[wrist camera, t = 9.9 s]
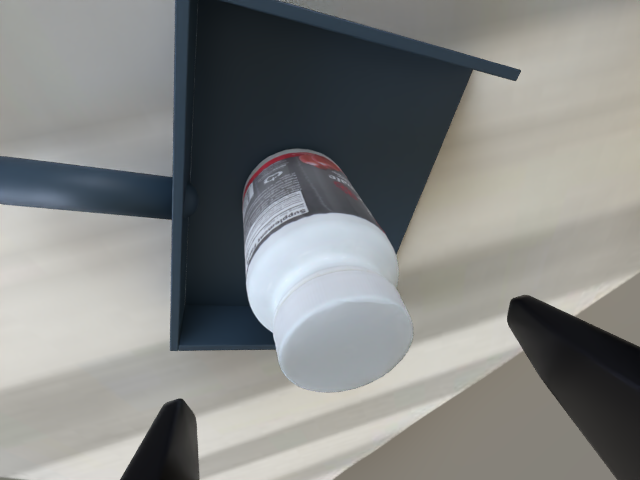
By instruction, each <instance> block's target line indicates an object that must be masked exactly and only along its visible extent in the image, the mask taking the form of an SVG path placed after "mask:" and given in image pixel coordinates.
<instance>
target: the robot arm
mask: <svg viewBox="0 0 640 480" xmlns="http://www.w3.org/2000/svg"><path fill="white" fill-rule="evenodd" d="M507 322H508V325H509V327H510V329H511V330H512V332H513V334H514V335H515V337H516V339H517V340H518V342H519V344H520V345H521V347H522V348H523V350H524V352H525V353H526V355H527V357H528V358H529V360H530V362H531V363H532V365H533V367H534V368H535V370H536V371H537V373H538V374H539V376H540V377H541V379H542V380H543V382H544V383H545V384H546V385H547V387H548V389H549V390H550V391H551V392H552V394H553V395H554V396H555V397H556V399H557V400H558V402H559V403H560V404H561V406H562V407H563V408H564V410H565V411H566V412H567V414H568V415H569V416H570V418H571V419H572V420H573V422H574V423H575V424H576V426H577V427H578V428H579V430H580V431H581V432H582V434H583V435H584V436H585V437H586V439H587V440H588V442H589V443H590V444H591V446H592V447H593V448H594V450H595V451H596V452H597V453H598V455H599V456H600V458H601V459H602V460H603V461H604V463H605V464H606V465H607V467H608V468H609V469H610V471H611V472H612V473H613V475H614V476H615V477H616V479H617V480H640V347H639V346H637V345H634V344H632V343H630V342H628V341H626V340H624V339H621V338H619V337H617V336H615V335H613V334H611V333H609V332H607V331H604V330H602V329H600V328H598V327H596V326H593V325H592V324H589V323H587V322H585V321H583V320H581V319H579V318H576V317H574V316H572V315H570V314H568V313H566V312H564V311H561V310H559V309H557V308H555V307H553V306H551V305H549V304H546V303H544V302H542V301H540V300H538V299H536V298H534V297H531V296H529V295H522V296H519V297H516V298H513V299H512V300H511V301H510V305H509V310H508V315H507ZM120 480H199V460H198V441H197V423H196V417H195V415H194V413H193V412H192V410H191V409H190V408H189V406H188V405H187V404H186V403H185V401H184V400H183V399H176V400H173V401H169V402H167V403H165V404H164V405H163V407H162V408H161V410H160V412H159V413H158V415H157V417H156V419H155V420H154V422H153V424H152V425H151V427H150V429H149V431H148V432H147V434H146V436H145V438H144V439H143V441H142V443H141V445H140V446H139V448H138V450H137V451H136V453H135V455H134V457H133V458H132V460H131V462H130V464H129V465H128V467H127V469H126V471H125V472H124V474H123V476H122V477H121V479H120Z"/></svg>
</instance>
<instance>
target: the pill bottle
mask: <svg viewBox="0 0 640 480" xmlns="http://www.w3.org/2000/svg"><path fill="white" fill-rule="evenodd" d="M242 202H243V205H242V212H243V228H244V250H245V267H246V288H247V294H248V300H249V303H250V306H251V309H252V311H253V313H254V314H255V316H256V317H257V319H258V320H259V321H260V322H261V324H262V325H263V326H264V327H266V328H267V329H268V330H269V331H271V332H272V333H273V338H274V341H275V345H276V351H277V356H278V361H279V365H280V368H281V370H282V372H283V373H284V375H285V376H286V377H287V378H288V379H289V380H290V381H291V382H292V383H294V384H295V385H297V386H299V387H301V388H304V389H307V390H311V391H316V392H341V391H346V390H351V389H355V388H358V387H361V386H364V385H366V384H369V383H371V382H373V381H375V380H377V379H378V378H380V377H382V376H384V375H385V374H386V373H388V372H389V371H391V370H392V369H393V368H394V367H395V366H396V365H397V364H398V363H399V362H400V361H401V360H402V359H403V357H404V356H405V354H406V353H407V351H408V349H409V348H410V345H411V343H412V339H413V323H412V320H411V317H410V315H409V313H408V311H407V309H406V307H405V305H404V303H403V301H402V299H401V296H400V294H399V292H398V291H397V289H396V287H397V283H398V277H399V267H398V261H397V257H396V254H395V251H394V249H393V247H392V245H391V243H390V241H389V240H388V238H387V236H386V234H385V233H384V231H383V230H382V229H381V228H380V226H379V225H378V223H377V222H376V220H375V219H374V217H373V216H372V215H371V213H370V211H369V210H368V209H367V207H366V206H365V204H364V203H363V201H362V200H361V198H360V197H359V195H358V194H357V192H356V191H355V189H354V188H353V186H352V185H351V183H350V182H349V180H348V179H347V177H346V176H345V174H344V173H343V172H342V170H341V169H340V168H339V167H338V165H337V164H336V163H335V162H334V161H332V160H331V159H330V158H328V157H327V156H325V155H323V154H321V153H319V152H316V151H312V150H308V149H288V150H284V151H281V152H278V153H276V154H274V155H271V156H269V157H267V158H266V159H264V160H263V161H262V162H260V163H259V164H258V166H257V167H256V168H255V169H254V170H253V171H252V173H251V174H250V176H249V177H248V179H247V181H246V184H245V187H244V191H243V199H242Z"/></svg>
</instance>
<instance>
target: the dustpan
mask: <svg viewBox="0 0 640 480" xmlns="http://www.w3.org/2000/svg"><path fill="white" fill-rule="evenodd" d="M197 8H198V13H197ZM196 31H197V36H196ZM195 54H196V59H195ZM473 70H476V71H480V72H484V73H487V74H491V75H495V76H499V77H502V78H506V79H510V80H513V81H516V80H517V78H518V76H519V74H520V72H521V70H519V69H515V68H512V67H508V66H505V65H501V64H498V63H494V62H491V61H487V60H484V59H480V58H477V57H473V56H470V55H466V54H463V53H459V52H456V51H453V50H449V49H446V48H442V47H439V46H435V45H432V44H428V43H425V42H421V41H418V40H414V39H411V38H407V37H404V36H400V35H397V34H393V33H390V32H386V31H383V30H379V29H376V28H372V27H369V26H365V25H362V24H358V23H355V22H351V21H348V20H344V19H341V18H337V17H334V16H330V15H327V14H323V13H320V12H316V11H313V10H309V9H306V8H302V7H299V6H296V5H292V4H289V3H285V2H282V1H278V0H175V55H174V120H173V177H167V176H159V175H151V174H143V173H135V172H127V171H119V170H111V169H103V168H95V167H87V166H78V165H70V164H62V163H54V162H46V161H38V160H30V159H22V158H14V157H6V156H0V204H4V205H15V206H26V207H37V208H48V209H59V210H71V211H82V212H93V213H104V214H115V215H126V216H137V217H148V218H159V219H170V220H172V249H171V314H170V351H178V350H179V351H196V350H276V345H275V341H274V338H273V333H272V332H271V331H269V330H268V329H267V328H266V327H264V326H263V325H262V324H261V322H260V321H259V320H258V319H257V317H256V316H255V314H254V313H253V311H252V309H251V306H250V303H249V300H248V294H247V288H246V267H245V250H244V228H243V212H242V205H243V202H242V199H243V191H244V187H245V184H246V181H247V179H248V177H249V176H250V174H251V173H252V171H253V170H254V169H255V168H256V167H257V166H258V164H259V163H260V162H262V161H263V160H264V159H266V158H267V157H269V156H271V155H274V154H276V153H278V152H281V151H284V150H288V149H308V150H312V151H316V152H319V153H321V154H323V155H325V156H327V157H328V158H330V159H331V160H332V161H334V162H335V163H336V164H337V165H338V167H339V168H340V169H341V170H342V172H343V173H344V174H345V176H346V177H347V179H348V180H349V182H350V183H351V185H352V186H353V188H354V189H355V191H356V192H357V194H358V195H359V197H360V198H361V200H362V201H363V203H364V204H365V206H366V207H367V209H368V210H369V211H370V213H371V215H372V216H373V217H374V219H375V220H376V222H377V223H378V225H379V226H380V228H381V229H382V230H383V231H384V233H385V234H386V236H387V238H388V240H389V241H390V243H391V245H392V247H393V249H394V251H395V254H397V252H398V249H399V247H400V244H401V242H402V240H403V237H404V235H405V232H406V230H407V227H408V225H409V223H410V220H411V218H412V215H413V213H414V211H415V208H416V206H417V203H418V201H419V199H420V196H421V194H422V191H423V189H424V186H425V184H426V182H427V179H428V177H429V174H430V172H431V170H432V167H433V165H434V162H435V160H436V158H437V155H438V153H439V150H440V148H441V146H442V143H443V141H444V138H445V136H446V133H447V131H448V129H449V126H450V124H451V121H452V119H453V117H454V114H455V112H456V109H457V107H458V105H459V102H460V100H461V97H462V95H463V93H464V90H465V88H466V85H467V83H468V80H469V78H470V76H471V73H472V71H473ZM194 78H195V82H194ZM193 101H194V105H193ZM192 124H193V128H192ZM191 147H192V151H191ZM190 171H191V175H190ZM188 217H189V221H188ZM187 240H188V244H187ZM186 264H187V267H186ZM185 287H186V290H185Z"/></svg>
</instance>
